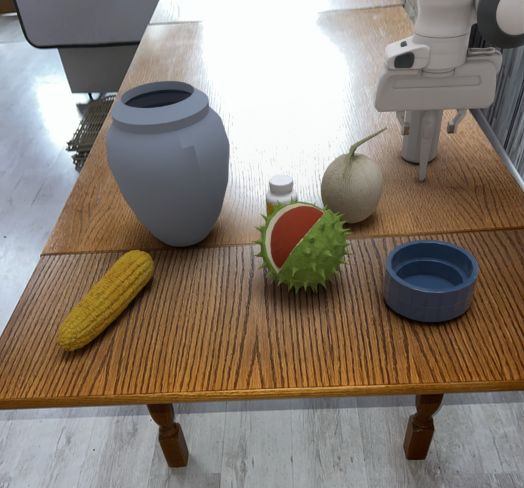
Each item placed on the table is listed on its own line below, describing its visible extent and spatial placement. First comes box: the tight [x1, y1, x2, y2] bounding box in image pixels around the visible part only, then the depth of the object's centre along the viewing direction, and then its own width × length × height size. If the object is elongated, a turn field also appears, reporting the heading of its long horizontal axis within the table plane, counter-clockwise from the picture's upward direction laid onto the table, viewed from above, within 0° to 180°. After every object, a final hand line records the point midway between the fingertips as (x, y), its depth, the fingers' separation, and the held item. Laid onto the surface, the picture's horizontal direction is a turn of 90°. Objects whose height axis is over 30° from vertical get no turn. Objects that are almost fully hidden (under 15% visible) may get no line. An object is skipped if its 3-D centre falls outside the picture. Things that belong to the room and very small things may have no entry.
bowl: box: [382, 239, 480, 323], centre depth 79 cm, size 13×13×6 cm
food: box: [56, 249, 155, 352], centre depth 82 cm, size 21×6×6 cm, turn 157°
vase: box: [105, 80, 231, 248], centre depth 90 cm, size 20×20×24 cm
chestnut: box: [251, 196, 354, 296], centre depth 81 cm, size 15×14×15 cm
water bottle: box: [401, 110, 444, 164], centre depth 106 cm, size 9×8×25 cm
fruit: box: [320, 126, 388, 224], centre depth 93 cm, size 10×12×15 cm
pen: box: [418, 110, 437, 182], centre depth 102 cm, size 2×3×14 cm
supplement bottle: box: [265, 173, 299, 217], centre depth 94 cm, size 5×5×10 cm
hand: (427, 133), depth 100 cm, fingers open, 7 cm apart
